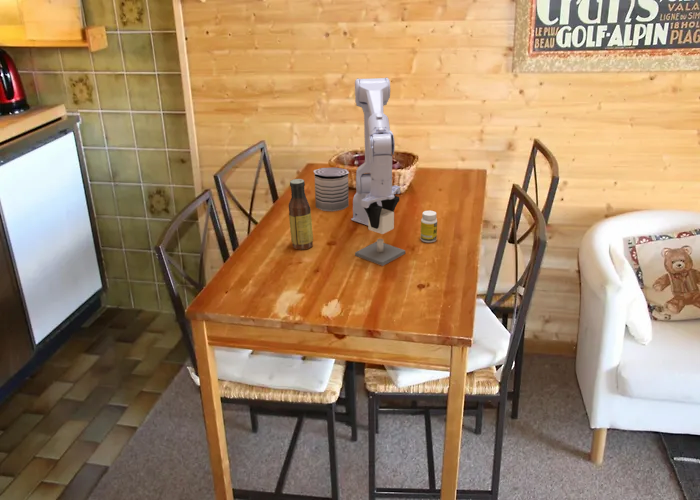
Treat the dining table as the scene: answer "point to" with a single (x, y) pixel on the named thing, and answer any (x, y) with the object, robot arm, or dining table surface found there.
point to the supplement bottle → (429, 226)
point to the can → (331, 189)
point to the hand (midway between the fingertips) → (381, 224)
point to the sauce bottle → (300, 216)
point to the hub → (384, 222)
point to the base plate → (380, 252)
